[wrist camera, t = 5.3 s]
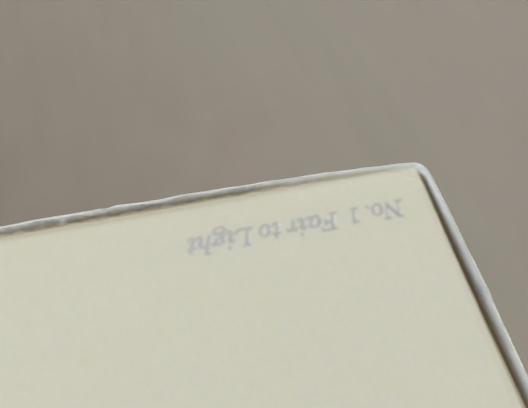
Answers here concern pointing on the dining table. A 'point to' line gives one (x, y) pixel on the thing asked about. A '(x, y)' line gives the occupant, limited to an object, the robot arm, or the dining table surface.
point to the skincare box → (256, 302)
